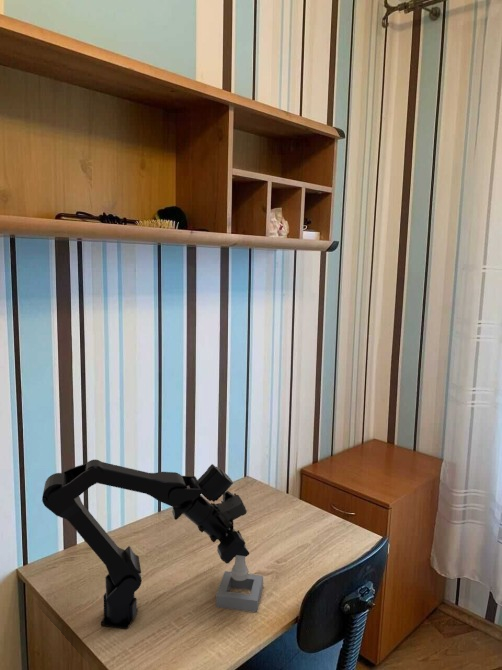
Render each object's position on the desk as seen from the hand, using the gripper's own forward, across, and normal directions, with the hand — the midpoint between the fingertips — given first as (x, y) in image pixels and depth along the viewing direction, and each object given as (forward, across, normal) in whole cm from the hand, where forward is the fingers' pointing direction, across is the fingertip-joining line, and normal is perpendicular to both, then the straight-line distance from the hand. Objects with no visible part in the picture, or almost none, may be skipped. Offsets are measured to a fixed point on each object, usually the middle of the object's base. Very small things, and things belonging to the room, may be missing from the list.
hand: (245, 550), depth 127 cm
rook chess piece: (+4, 0, +6) cm, 7 cm away
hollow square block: (+8, 0, +9) cm, 12 cm away
